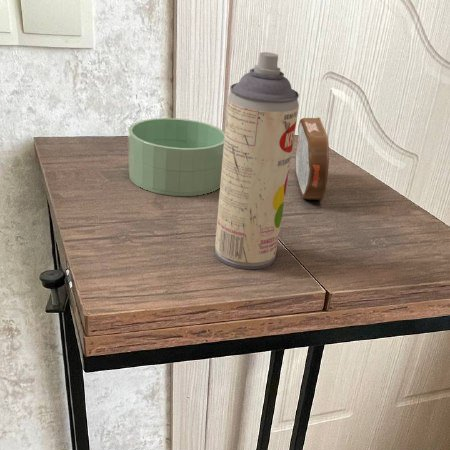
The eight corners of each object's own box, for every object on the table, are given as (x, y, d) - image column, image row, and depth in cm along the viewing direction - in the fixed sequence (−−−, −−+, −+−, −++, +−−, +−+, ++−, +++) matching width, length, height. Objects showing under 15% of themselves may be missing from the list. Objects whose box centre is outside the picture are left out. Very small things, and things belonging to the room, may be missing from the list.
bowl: (224, 166, 92) (228, 123, 88) (222, 200, 81) (226, 153, 78) (135, 157, 91) (135, 114, 87) (122, 190, 81) (121, 143, 77)
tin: (323, 210, 82) (336, 144, 77) (299, 208, 82) (311, 142, 76) (310, 170, 94) (320, 110, 88) (289, 168, 93) (298, 108, 88)
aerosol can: (274, 272, 67) (306, 66, 55) (211, 264, 67) (228, 57, 55) (276, 245, 73) (305, 51, 60) (217, 238, 73) (235, 43, 60)
